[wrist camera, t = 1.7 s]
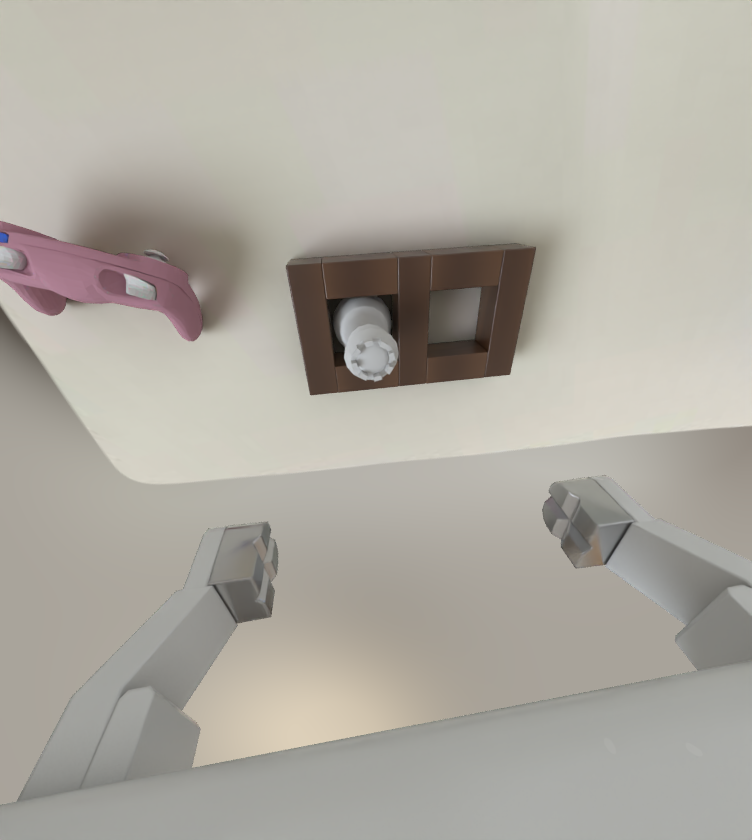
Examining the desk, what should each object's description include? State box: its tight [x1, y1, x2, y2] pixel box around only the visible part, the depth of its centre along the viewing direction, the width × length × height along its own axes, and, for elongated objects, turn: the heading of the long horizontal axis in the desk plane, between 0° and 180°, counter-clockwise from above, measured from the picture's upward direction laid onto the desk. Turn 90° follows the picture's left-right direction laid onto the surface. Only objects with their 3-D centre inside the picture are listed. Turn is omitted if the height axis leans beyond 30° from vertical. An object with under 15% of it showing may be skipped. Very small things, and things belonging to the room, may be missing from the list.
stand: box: [286, 243, 536, 395], centre depth 24 cm, size 16×9×3 cm, turn 93°
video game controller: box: [0, 221, 202, 341], centre depth 19 cm, size 10×5×7 cm, turn 75°
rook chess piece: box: [333, 296, 399, 382], centre depth 21 cm, size 4×4×8 cm
